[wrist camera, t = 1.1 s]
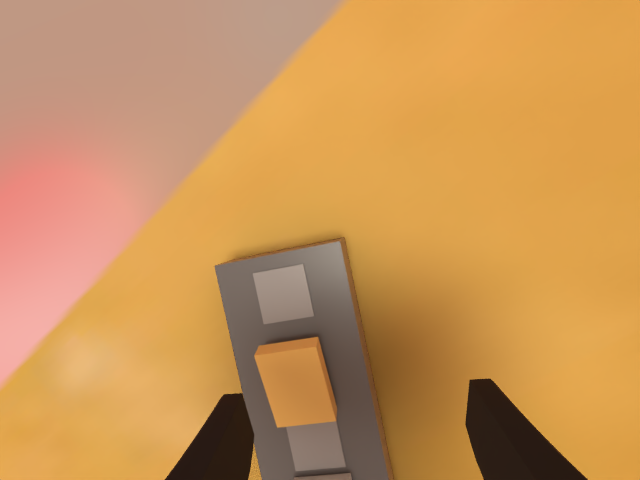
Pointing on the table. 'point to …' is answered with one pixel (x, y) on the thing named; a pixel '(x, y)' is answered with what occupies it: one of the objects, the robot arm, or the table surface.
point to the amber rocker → (296, 382)
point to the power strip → (338, 351)
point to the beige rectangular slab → (327, 477)
